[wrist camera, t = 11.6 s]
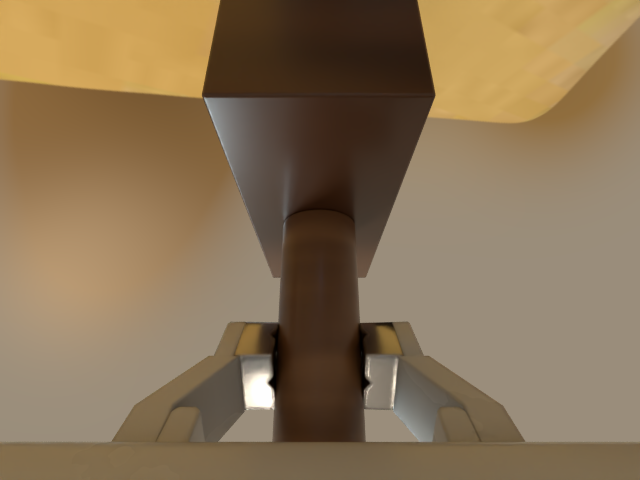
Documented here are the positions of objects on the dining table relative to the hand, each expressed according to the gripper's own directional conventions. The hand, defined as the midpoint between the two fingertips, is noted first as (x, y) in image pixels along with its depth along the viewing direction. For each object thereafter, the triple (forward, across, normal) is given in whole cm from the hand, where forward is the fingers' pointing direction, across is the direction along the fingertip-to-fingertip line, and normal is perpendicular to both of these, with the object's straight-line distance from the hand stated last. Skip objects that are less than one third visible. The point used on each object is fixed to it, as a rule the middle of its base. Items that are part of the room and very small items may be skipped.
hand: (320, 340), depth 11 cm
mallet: (+5, 0, +5) cm, 7 cm away
